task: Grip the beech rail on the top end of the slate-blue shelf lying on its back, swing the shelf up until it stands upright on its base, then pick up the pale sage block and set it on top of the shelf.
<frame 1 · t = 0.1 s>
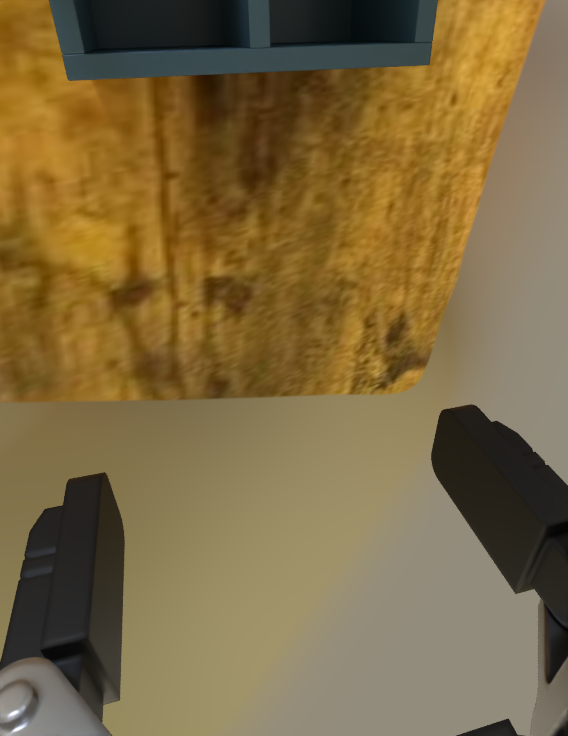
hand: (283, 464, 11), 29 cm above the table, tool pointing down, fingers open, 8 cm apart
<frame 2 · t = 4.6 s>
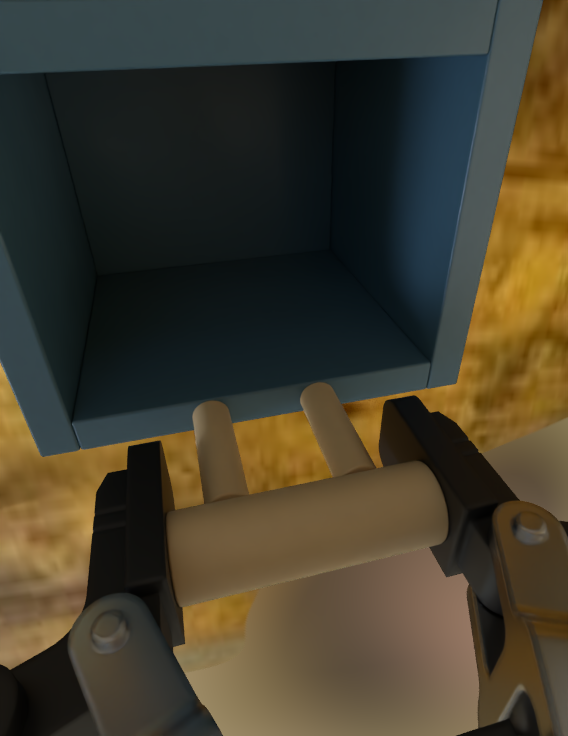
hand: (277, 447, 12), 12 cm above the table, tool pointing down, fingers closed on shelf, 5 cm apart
shelf: (224, 43, 11), point 8 cm above the table, hinge at -0.1°, touching gripper
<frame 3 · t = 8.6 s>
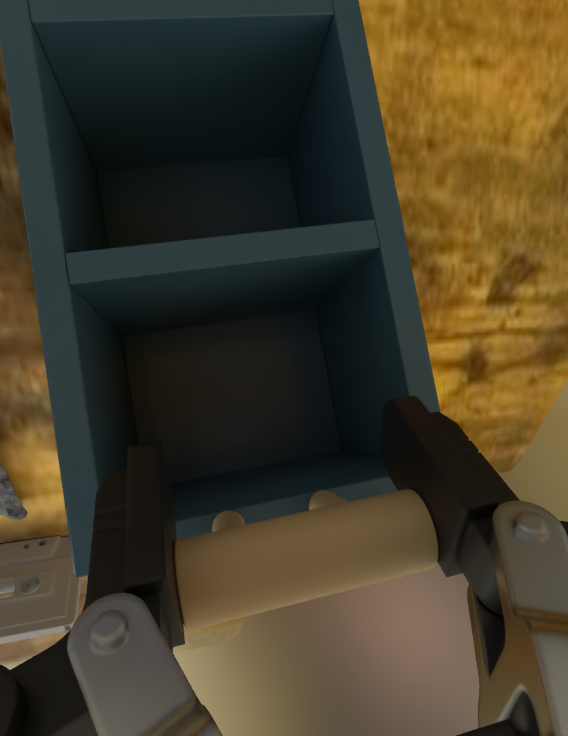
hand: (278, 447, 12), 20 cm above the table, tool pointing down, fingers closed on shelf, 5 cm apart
shelf: (228, 277, 18), point 12 cm above the table, hinge at 40.7°, touching gripper
cassette: (8, 546, 40), on the table
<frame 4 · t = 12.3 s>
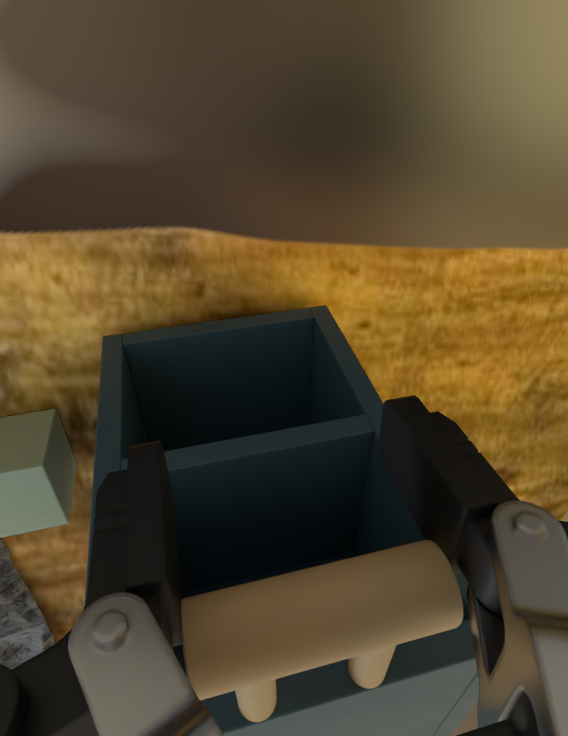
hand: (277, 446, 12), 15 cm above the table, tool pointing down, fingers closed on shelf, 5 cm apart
block: (26, 444, 28), on the table
shelf: (254, 486, 20), point 10 cm above the table, hinge at 84.9°, touching gripper
grey cloth: (0, 621, 37), on the table
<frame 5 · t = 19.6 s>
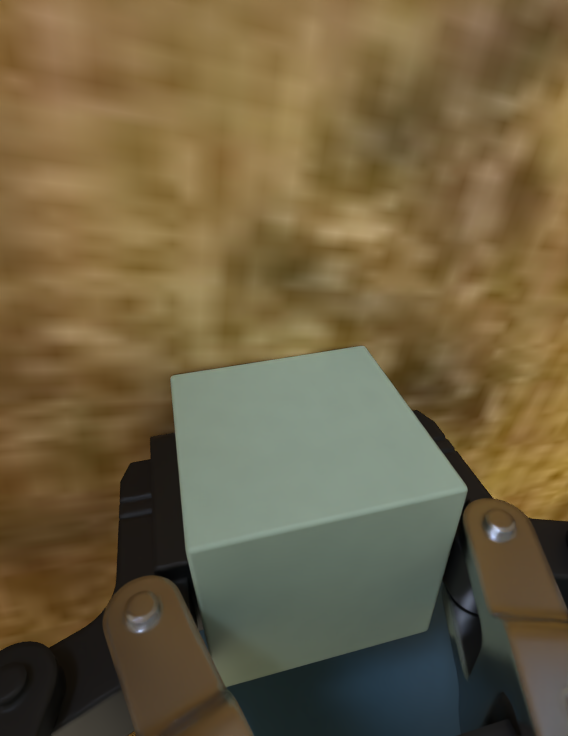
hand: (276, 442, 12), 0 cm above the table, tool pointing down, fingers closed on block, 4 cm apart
block: (274, 432, 12), on the table, touching gripper
when the fingers open (18 cm above the table, at t = 26.8 s): block stays where it is, resting on shelf.
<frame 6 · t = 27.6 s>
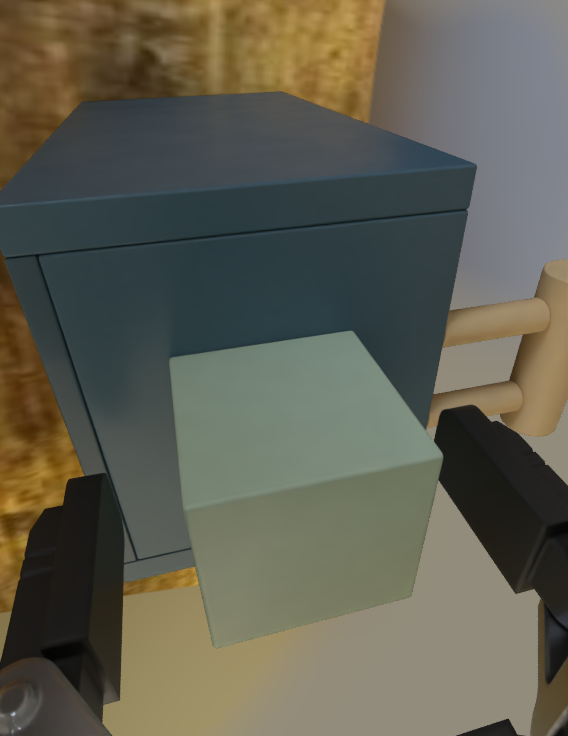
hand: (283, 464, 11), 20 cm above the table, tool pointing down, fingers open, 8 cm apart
block: (268, 414, 13), point 18 cm above the table, touching shelf
shelf: (282, 274, 21), point 9 cm above the table, hinge at 90.1°, touching block
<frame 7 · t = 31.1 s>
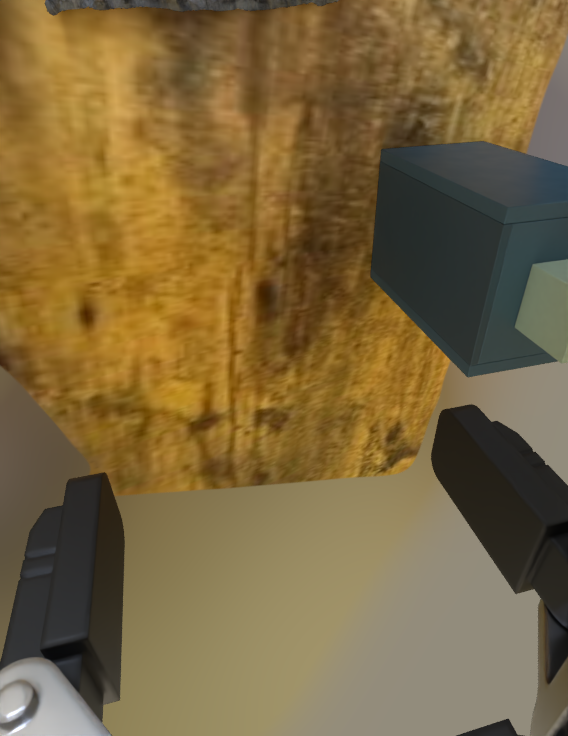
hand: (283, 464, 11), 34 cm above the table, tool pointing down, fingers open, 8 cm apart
block: (553, 292, 32), point 18 cm above the table, touching shelf
shelf: (505, 242, 39), point 9 cm above the table, hinge at 90.1°, touching block
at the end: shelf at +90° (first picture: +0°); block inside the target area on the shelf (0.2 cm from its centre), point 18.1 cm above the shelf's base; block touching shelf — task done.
